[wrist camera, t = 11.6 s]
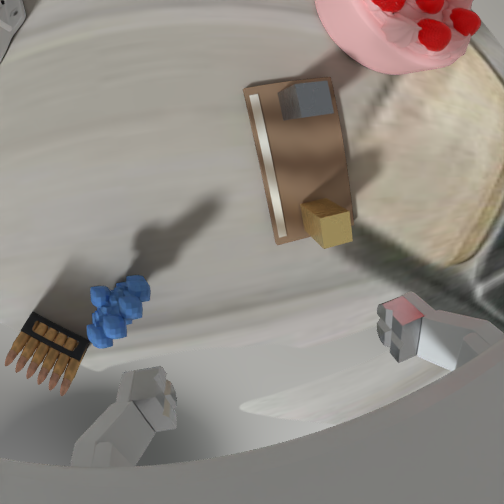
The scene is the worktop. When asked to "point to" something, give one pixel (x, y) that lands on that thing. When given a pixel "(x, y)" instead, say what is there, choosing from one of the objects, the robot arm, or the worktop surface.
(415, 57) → the cake
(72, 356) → the ammunition clip
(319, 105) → the grey rectangular block
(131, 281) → the grapes
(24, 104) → the worktop surface
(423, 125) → the worktop surface
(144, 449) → the robot arm
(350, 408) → the worktop surface
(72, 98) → the worktop surface
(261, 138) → the brown flat rectangular board
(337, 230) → the wooden block
